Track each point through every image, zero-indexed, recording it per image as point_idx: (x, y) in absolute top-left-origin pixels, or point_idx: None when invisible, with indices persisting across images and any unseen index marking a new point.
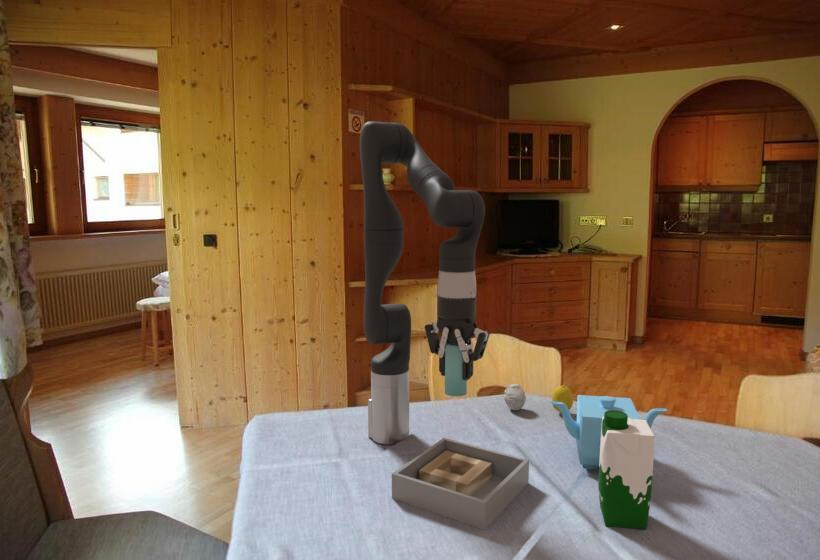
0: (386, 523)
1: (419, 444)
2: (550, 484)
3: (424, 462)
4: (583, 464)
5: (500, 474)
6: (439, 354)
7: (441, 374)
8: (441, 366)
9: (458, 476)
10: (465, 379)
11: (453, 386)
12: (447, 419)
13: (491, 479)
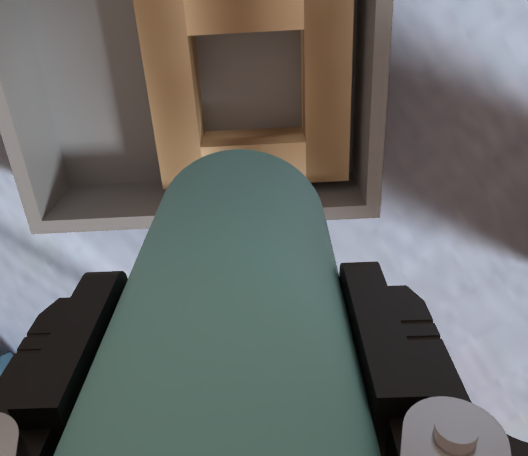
0: None
1: (496, 240)
2: (34, 241)
3: (366, 40)
4: (3, 355)
5: (146, 185)
6: (471, 434)
7: (372, 262)
8: (392, 316)
9: (196, 25)
10: (88, 272)
11: (201, 188)
12: (488, 409)
13: None
